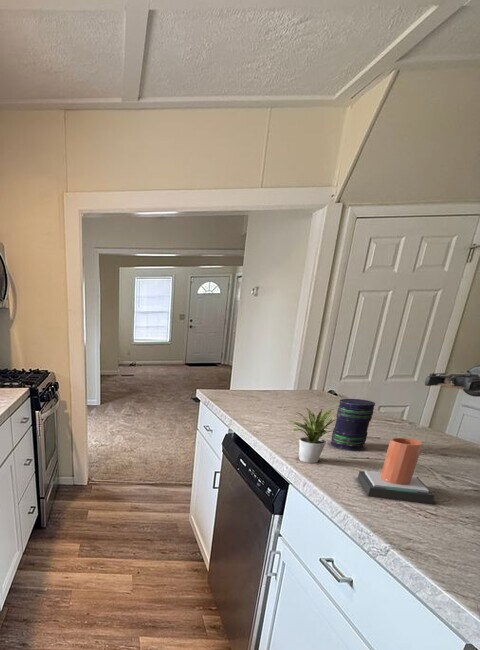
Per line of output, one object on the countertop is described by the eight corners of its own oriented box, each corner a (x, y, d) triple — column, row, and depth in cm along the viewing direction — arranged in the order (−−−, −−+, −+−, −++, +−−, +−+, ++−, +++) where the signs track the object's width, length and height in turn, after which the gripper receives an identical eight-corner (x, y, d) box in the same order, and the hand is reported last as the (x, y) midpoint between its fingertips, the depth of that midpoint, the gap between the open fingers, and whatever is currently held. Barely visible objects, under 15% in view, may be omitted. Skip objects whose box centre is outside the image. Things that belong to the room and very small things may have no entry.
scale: (415, 484, 104) (418, 474, 102) (432, 504, 93) (436, 493, 92) (357, 478, 108) (359, 468, 107) (367, 496, 97) (370, 485, 96)
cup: (405, 477, 101) (417, 439, 97) (413, 486, 96) (426, 446, 92) (377, 474, 103) (387, 436, 99) (383, 482, 98) (394, 443, 94)
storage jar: (351, 441, 139) (361, 398, 133) (371, 450, 130) (383, 404, 124) (323, 442, 138) (332, 399, 132) (341, 451, 129) (352, 405, 123)
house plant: (298, 448, 132) (308, 399, 126) (342, 459, 122) (355, 406, 115) (274, 457, 124) (284, 405, 118) (320, 470, 114) (333, 413, 107)
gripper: (462, 361, 103) (419, 364, 98) (534, 367, 91) (489, 370, 86) (452, 390, 106) (410, 394, 101) (521, 400, 94) (477, 405, 88)
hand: (447, 383), depth 93 cm, fingers open, 8 cm apart
